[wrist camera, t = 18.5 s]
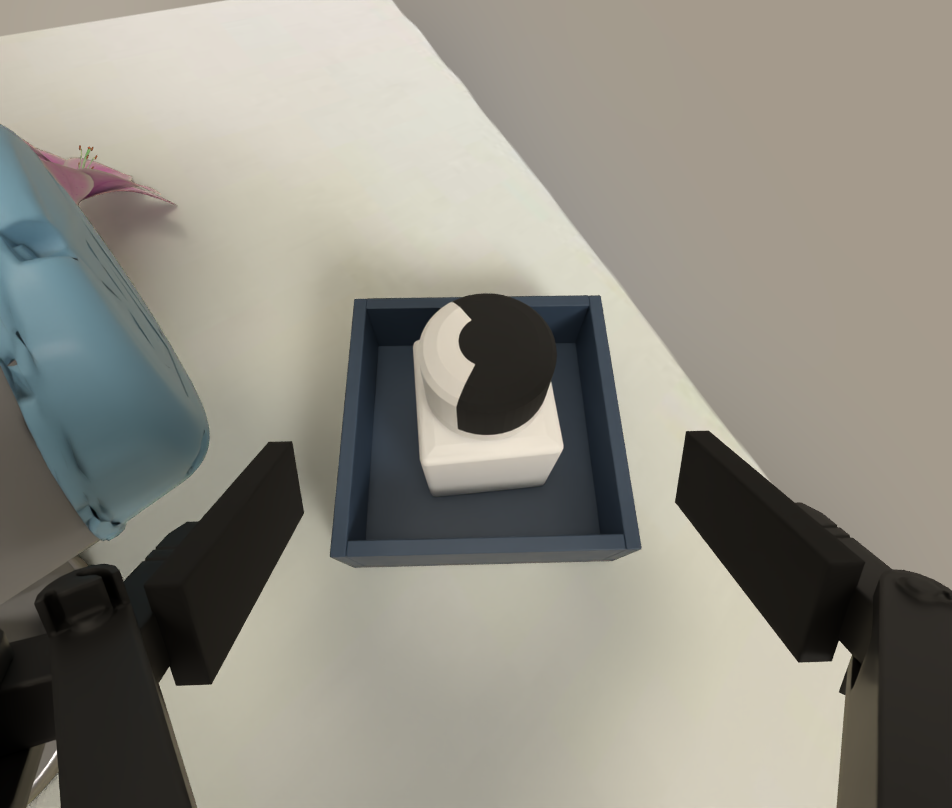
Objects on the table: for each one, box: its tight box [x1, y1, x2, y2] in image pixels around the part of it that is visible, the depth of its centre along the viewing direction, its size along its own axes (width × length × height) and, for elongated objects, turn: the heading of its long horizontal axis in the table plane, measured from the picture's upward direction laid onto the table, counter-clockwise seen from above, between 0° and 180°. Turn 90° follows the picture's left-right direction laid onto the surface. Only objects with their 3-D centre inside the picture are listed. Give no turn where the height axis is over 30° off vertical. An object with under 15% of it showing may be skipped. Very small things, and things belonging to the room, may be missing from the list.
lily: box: [22, 139, 178, 206], centre depth 36 cm, size 12×12×10 cm
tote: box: [330, 295, 641, 568], centre depth 29 cm, size 16×16×5 cm
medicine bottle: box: [413, 294, 563, 497], centre depth 25 cm, size 7×7×12 cm
